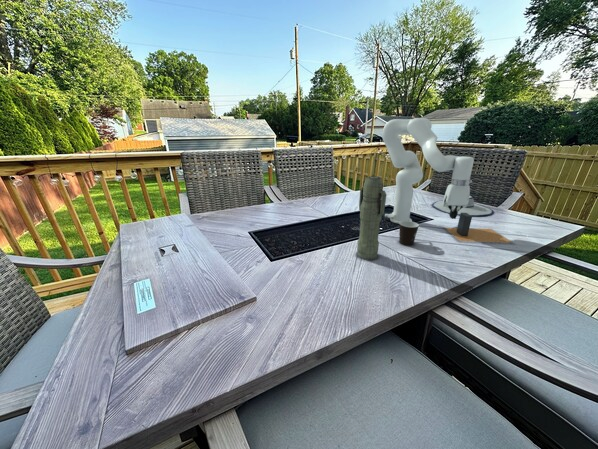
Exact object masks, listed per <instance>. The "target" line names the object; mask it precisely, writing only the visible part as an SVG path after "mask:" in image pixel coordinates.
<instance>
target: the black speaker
mask: <svg viewBox="0 0 598 449" xmlns="http://www.w3.org/2000/svg"><path fill="white" fill-rule="evenodd" d="M472 218H473V216H471V215H469V214H468V213H460V215H459V217H458V222H457V227H456V228H457V231H456V232H457V233H458V234H459V235H461V236H468V232H469V228H471V223H472Z"/></svg>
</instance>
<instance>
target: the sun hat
mask: <svg viewBox="0 0 598 449" xmlns="http://www.w3.org/2000/svg"><path fill="white" fill-rule="evenodd" d="M443 201H444V199H443V200H437V201H434V202H433V203H432V204H431V206H432V207H433V208H435V209H436V210H438V211H440V212H443V213H445V214H450V209H449V208H447V207H444V206H443V205H444V202H443ZM455 206H456V205H455ZM455 206H454V208H455ZM460 213H468V214H469V215H471V216H472V217H483V216H490V215H493V214H494V210H493V209H491V208H489V207H486V206H483V205H481V204H478V203H477V202H476V203H475V199H474V197H473V196H472V195H469V201H468V204H467V207H465V208H461V209H460V210H459V211H458V213H457V216H460Z"/></svg>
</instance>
